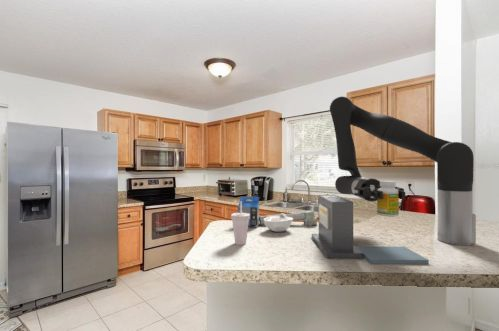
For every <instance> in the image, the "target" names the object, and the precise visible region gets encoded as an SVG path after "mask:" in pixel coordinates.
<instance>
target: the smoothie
mask: <svg viewBox="0 0 499 331" xmlns="http://www.w3.org/2000/svg"><path fill="white" fill-rule="evenodd" d="M239 203H240V213H238V212H234V213H232V214H231V215H230V219H231V222H232V229H233V237H234V244H235V245H236V246H237V245H238V246H243V245H246V244H247V239H248V230H249V227H248V223H249V218H250V214H248V213H242V201H240V200H239Z"/></svg>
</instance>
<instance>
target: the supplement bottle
mask: <svg viewBox="0 0 499 331" xmlns="http://www.w3.org/2000/svg"><path fill="white" fill-rule="evenodd" d="M379 181H380V186H381V188H379V189H378V190H379V191H382V192H383V198H382V199H378V198H377V201H376V207H377V208H376V213H377V215H378V216H382V217H386V218H387V217H389V218H395V217H398V216H399V211H400V209H399V208H400V207H399V206H400V204H399V203H400V202H399V201H400V198H399V192H398V190H397V189H395V187H397V184H396V181H395V180H379Z"/></svg>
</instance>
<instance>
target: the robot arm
mask: <svg viewBox="0 0 499 331" xmlns="http://www.w3.org/2000/svg"><path fill="white" fill-rule="evenodd" d="M329 105H330V106H329V112H330V115H331V120H332V123H333V128H334V134H335V138H336V140H335V141H336V152H337V163H338V169H339V170H341V171H345V172H346V171H347V172H349V173H350V175H341V176H338V177H337V178H336V180H335V182H334V185H335V189H336V190H337V192H338V193H340V194H342V195H352V196H355V197H357V198H359V199H362V200H364V201H367V202H371V203H373V202H377V198H378V199H382V198H383V192H382V191H379V190H378V189H379V188H381V186H380V181H381V180H378V179H376V178H371V177H364V176H363V177H362V175H361V173H360V172H361V171H360V170H359V167H358V163H357V162H358V161H357V154H356V147H355V142H354V139H353V134H352V128H351V126H353V127H356V128H359V129H361V130H364V132H367V133H368V134H369V135H372V136H374V137H375V138H377V139H379V140H381V141H384V142H386V143H388V144H391V145H393V146H395V147H399V148H402V149H405V150H407V151H410V152H415V153H416V154H417V153H418V154H420V155H422V156H424V157H426V158H428V159H430V160H432V161H434V162H435V163H437V165H436V166H437V167H436V168H437V169H436V170H437V171H436V172H437V173H436V174H437V178H436V180H437V182H436V184H437V186H436V187H437V189H436V190H437V240H439V241H440V242H443V243H446V244H451V245H458V246H459V245H460V246H471V245H475V244H476V243H477V241H476V240H477V215H476V214H475V213H473V209H474V208H473V203H474V202H473V199H474V198H473V197H474V196H473V192H474V191H473V189H474V188H473V187H474V186H473V185H474V170H475V169H474V166H475V165H474V162H475V161H474V151H473V150H472V148H471V147H470V146H469V145H467V144H466V143H464V142H460V141H453V142H452V141H449V140H445V139H442V138H439V137H436V136H434V135H431V134H429V133H427V132H425V131H424V130H421V129H420V128H418V127H416V126H414V125H412V124H410V123H409V122H406V121H404V120H402V119H399V118H397V117H394V116H391V115H386V114H381V113H375V112H371V111H368V110H365V109H363V108H361V107H359V106H357V105H356V104H354V103H353V101H352V100H351V99H350V98H348V97H346V96H343V95H341V96H337V97H336V98H334V99H332V101H331V103H330V104H329ZM395 189H397V190H398V192H399V200H405V199H406V191H405V188H403V187H400V186H395Z"/></svg>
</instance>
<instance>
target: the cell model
mask: <svg viewBox="0 0 499 331" xmlns="http://www.w3.org/2000/svg"><path fill="white" fill-rule="evenodd" d="M285 214H286V213H283V212H281V213H280V216H269V217H266V218H264V224H265V225H264V226H265V227H266V228H267V229H269V231H271V232H272V231H273V232H274V233H275V232H276V233H277V232H285V231H287V230H288V229H289V228H290V226H291V225H292V224H293V223H292V222H294V221H293V218H291V217H287V216H286V215H285Z"/></svg>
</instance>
